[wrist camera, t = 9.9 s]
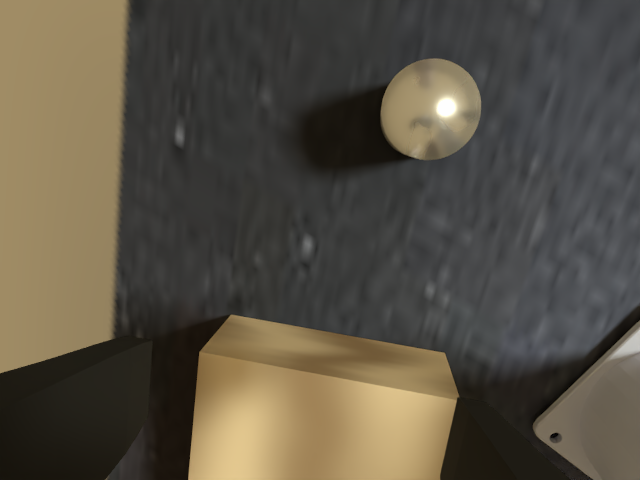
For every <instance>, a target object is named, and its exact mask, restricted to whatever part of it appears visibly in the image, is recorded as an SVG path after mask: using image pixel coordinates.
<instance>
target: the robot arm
mask: <svg viewBox="0 0 640 480" xmlns="http://www.w3.org/2000/svg"><path fill="white" fill-rule="evenodd" d="M152 344H153V340H148V339H142V338H137V337H131V336H126V337H120V338H116V339H113V340H109V341H106V342H102V343H99V344H95V345H92V346H89V347H86V348H83V349H80V350H77V351H73V352H70V353H67V354H64V355H61V356H58V357H55V358H51V359H48V360H45V361H42V362H38V363H35V364H31V365H28V366H25V367H21V368H18V369H14V370H10V371H7V372H4V373H0V480H105V479H106V478H107V476H108V475H109V474H110V473H111V471H112V470H113V469H114V468H115V466H116V465H117V464H118V463H119V461H120V460H121V459H122V457H123V456H124V455H125V454H126V452H127V450H128V449H129V447H130V446H131V444H132V443H133V441H134V439H135V438H136V436H137V434H138V433H139V431H140V429H141V428H142V426H143V424H144V423H145V421H146V419H147V417H148V408H149V392H150V376H151V360H152ZM533 430H534V432H535V434H536V436H537V437H538V438H539V439H540V440H542V441H543V442H544V443H546V444H547V445H548V446H550V447H551V448H552V449H553V450H555V451H556V452H557V453H559V454H560V455H561V456H563V457H564V458H565V459H567V460H568V461H569V462H571V463H572V464H573V465H574V466H576V467H577V468H578V469H580V470H581V471H582V472H584V473H585V474H586V475H588V476H589V477H590V478H591V479H593V480H640V320H639V321H638V322H637V323H636V324H635V325H634V326H633V327H632V328H631V329H630V330H629V331H628V332H627V333H626V334H625V335H624V336H623V337H622V338H621V339H620V340H619V341H618V342H617V343H615V344H614V345H613V346H612V347H611V348H610V349H609V350H608V351H607V352H606V353H605V354H604V355H603V356H602V357H601V358H600V359H599V360H598V361H597V362H596V363H595V364H594V365H593V366H591V367H590V368H589V369H588V370H587V371H586V372H585V373H584V374H583V375H582V376H581V377H580V378H579V379H578V380H577V381H576V382H575V383H574V384H573V385H572V386H571V387H570V388H569V389H568V390H566V391H565V392H564V393H563V394H562V395H561V396H560V397H559V398H558V399H557V400H556V401H555V402H554V403H553V404H552V405H551V406H550V407H549V408H548V409H547V410H546V411H545V412H544V413H542V414H541V415H540V416H539V417H538V418H537V419H536V420H535V422H534V423H533ZM553 433H559V434H558V436H557V437H555V438H550V436H551V434H553ZM440 480H570V479H569V478H568V477H567V476H566V475H564V474H563V473H562V472H561V471H560V470H559V469H558V468H557V467H555V466H554V465H553V464H552V463H551V462H550V461H549V460H548V459H547V458H545V457H544V456H543V455H542V454H541V453H540V452H539V451H538V450H537V449H536V448H535V447H533V446H532V445H531V444H530V443H529V442H528V441H527V440H526V439H525V438H524V437H523V436H522V435H521V434H520V433H519V432H518V431H517V430H516V429H515V428H513V427H512V426H511V425H510V424H509V423H508V422H507V421H506V420H505V419H504V418H503V417H502V416H501V415H500V414H499V413H498V412H496V411H495V410H494V409H493V408H492V407H491V406H489V405H488V404H487V403H486V402H482V401H476V400H471V399H465V398H460V397H457V402H456V406H455V411H454V415H453V420H452V424H451V428H450V433H449V437H448V442H447V446H446V450H445V455H444V459H443V464H442V468H441V473H440Z"/></svg>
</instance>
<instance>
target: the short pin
mask: <svg viewBox="0 0 640 480" xmlns="http://www.w3.org/2000/svg"><path fill="white" fill-rule="evenodd" d="M480 114H481V99H480V94H479V91H478V88H477V86H476V83H475V82H474V80H473V79H472V77H471V76H470V75H469V74H468V73H467V72H466V71H465V70H464V69H463V68H462V67H460V66H459V65H457V64H455V63H453V62H450V61H447V60H443V59H425V60H421V61H417V62H415V63H412V64H410V65H409V66H407V67H405V68H404V69H403V70H401V71H400V72H399V73H398V74H397V75H396V76H395V77H394V78H393V79H392V81H391V82H390V84H389V85H388V87H387V89H386V91H385V94H384V97H383V101H382V106H381V112H380V125H381V129H382V133H383V135H384V137H385V139H386V140H387V142H388V143H389V144H390V145H391V146H392V147H393V148H394V149H395V150H397V151H398V152H400V153H402V154H404V155H407V156H410V157H413V158H416V159H421V160H435V159H440V158H444V157H447V156H449V155H451V154H453V153H455V152H456V151H458V150H459V149H461V148H462V147H463V146H464V145H465V144H466V143H467V142H468V141H469V140H470V138H471V137H472V135H473V134H474V132H475V130H476V128H477V125H478V123H479V119H480Z"/></svg>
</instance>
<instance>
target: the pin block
mask: <svg viewBox="0 0 640 480" xmlns="http://www.w3.org/2000/svg"><path fill="white" fill-rule="evenodd" d="M457 397H459V394H458V391H457V388H456V385H455V382H454V379H453V376H452V373H451V370H450V367H449V364H448V361H447V358H446V355H445V353H442V352H437V351H431V350H426V349H420V348H415V347H409V346H403V345H398V344H392V343H387V342H381V341H376V340H370V339H364V338H359V337H353V336H348V335H342V334H337V333H331V332H325V331H320V330H314V329H309V328H303V327H298V326H292V325H286V324H281V323H275V322H270V321H264V320H259V319H253V318H247V317H242V316H236V315H230V317H229V318H228V319H227V320H226V321H225V322H224V324H223V325H222V326H221V327H220V328H219V329H218V331H217V332H216V333H215V334H214V335H213V336H212V338H211V339H210V340H209V341H208V342H207V344H206V345H205V346H204V347H203V348H202V349H201V351H200V352H199V363H198V374H197V386H196V397H195V408H194V420H193V431H192V442H191V453H190V465H189V476H188V480H440V473H441V468H442V464H443V459H444V455H445V450H446V446H447V442H448V437H449V433H450V428H451V424H452V420H453V415H454V411H455V406H456V402H457Z"/></svg>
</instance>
